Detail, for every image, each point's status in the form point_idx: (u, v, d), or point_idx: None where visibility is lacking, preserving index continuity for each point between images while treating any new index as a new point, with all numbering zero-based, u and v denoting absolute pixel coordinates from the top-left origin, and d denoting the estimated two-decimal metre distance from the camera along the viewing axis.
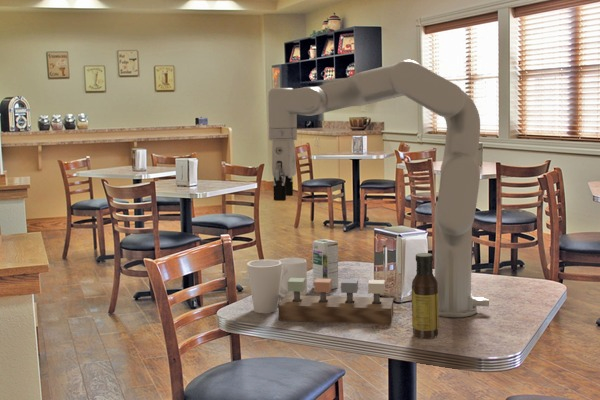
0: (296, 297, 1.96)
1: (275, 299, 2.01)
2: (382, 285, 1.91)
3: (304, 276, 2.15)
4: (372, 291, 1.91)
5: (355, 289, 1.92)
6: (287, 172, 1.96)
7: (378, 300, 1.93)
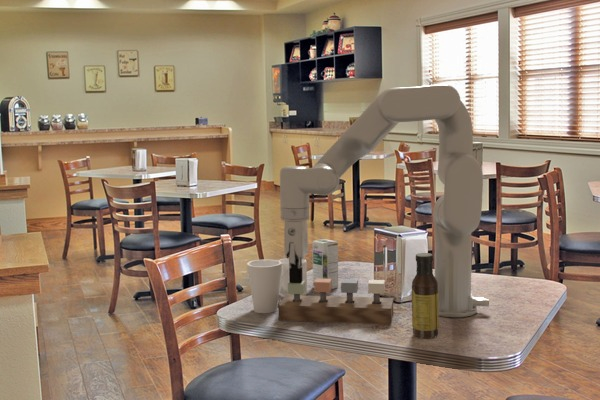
0: (296, 300, 1.97)
1: (275, 299, 2.01)
2: (382, 285, 1.91)
3: (304, 276, 2.15)
4: (372, 291, 1.91)
5: (355, 289, 1.92)
6: (300, 254, 1.90)
7: (378, 300, 1.93)
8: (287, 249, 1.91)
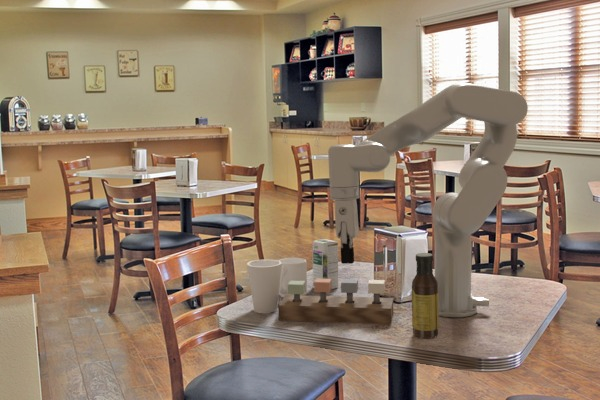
0: (296, 300, 1.97)
1: (275, 299, 2.01)
2: (382, 285, 1.91)
3: (304, 276, 2.15)
4: (372, 291, 1.91)
5: (355, 289, 1.92)
6: (352, 233, 1.87)
7: (378, 300, 1.93)
8: (339, 229, 1.88)
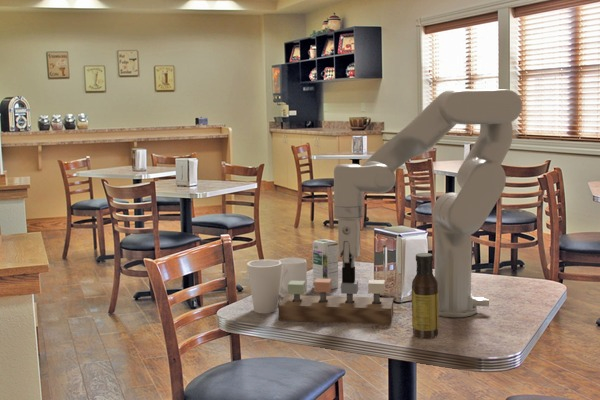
0: (296, 300, 1.97)
1: (275, 299, 2.01)
2: (382, 285, 1.91)
3: (304, 276, 2.15)
4: (372, 291, 1.91)
5: (355, 290, 1.92)
6: (355, 253, 1.88)
7: (378, 300, 1.93)
8: (341, 248, 1.88)
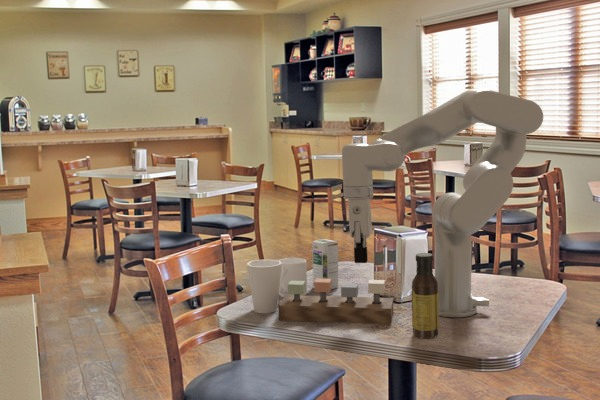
0: (296, 300, 1.97)
1: (275, 299, 2.01)
2: (382, 285, 1.91)
3: (304, 276, 2.15)
4: (372, 291, 1.91)
5: (355, 293, 1.92)
6: (366, 232, 1.87)
7: (378, 300, 1.93)
8: (352, 228, 1.87)
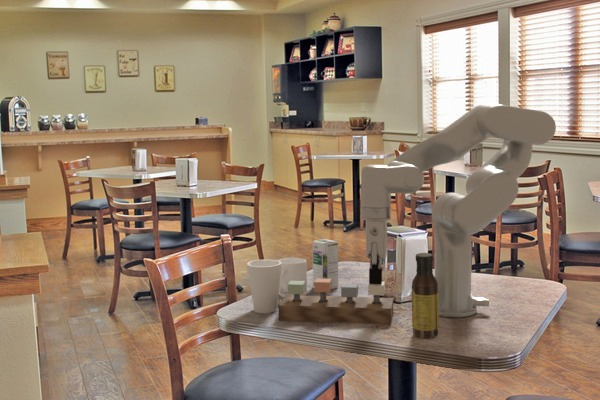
0: (296, 300, 1.97)
1: (275, 299, 2.01)
2: (382, 287, 1.91)
3: (304, 276, 2.15)
4: (372, 293, 1.91)
5: (355, 293, 1.92)
6: (382, 254, 1.86)
7: (378, 302, 1.93)
8: (369, 249, 1.87)
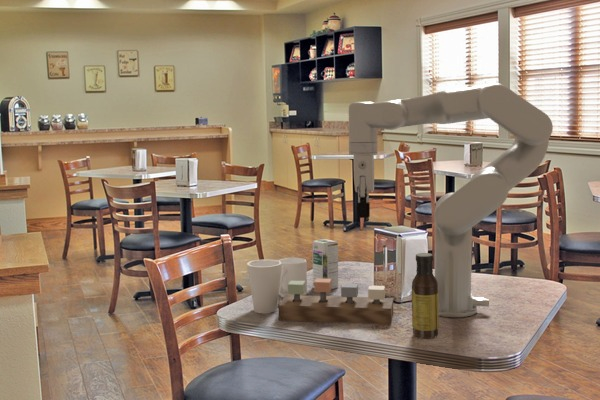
0: (296, 300, 1.97)
1: (275, 299, 2.01)
2: (382, 291, 1.91)
3: (304, 276, 2.15)
4: (372, 297, 1.92)
5: (355, 293, 1.92)
6: (371, 187, 1.94)
7: None
8: (358, 182, 1.94)
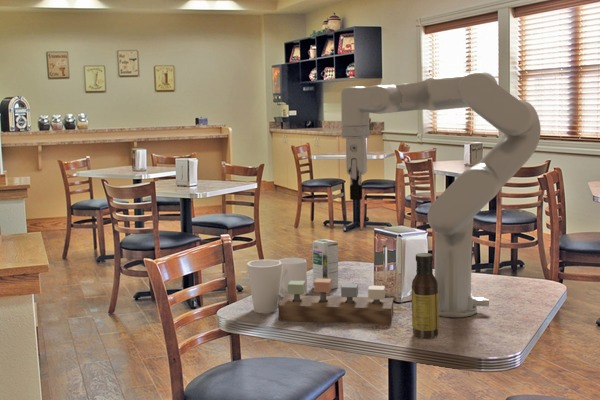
0: (296, 300, 1.97)
1: (275, 299, 2.01)
2: (382, 291, 1.91)
3: (304, 276, 2.15)
4: (372, 297, 1.92)
5: (355, 293, 1.92)
6: (362, 169, 1.99)
7: None
8: (349, 165, 1.99)
